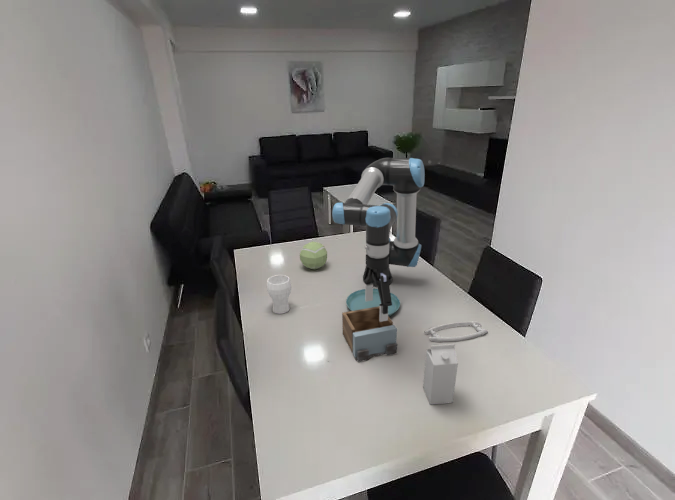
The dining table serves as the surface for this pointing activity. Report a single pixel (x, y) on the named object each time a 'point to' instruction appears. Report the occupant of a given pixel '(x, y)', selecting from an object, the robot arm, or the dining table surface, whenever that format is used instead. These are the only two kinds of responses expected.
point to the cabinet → (362, 322)
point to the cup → (279, 292)
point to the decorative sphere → (313, 255)
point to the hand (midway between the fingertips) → (375, 310)
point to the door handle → (450, 339)
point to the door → (374, 339)
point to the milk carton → (440, 373)
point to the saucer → (358, 301)
